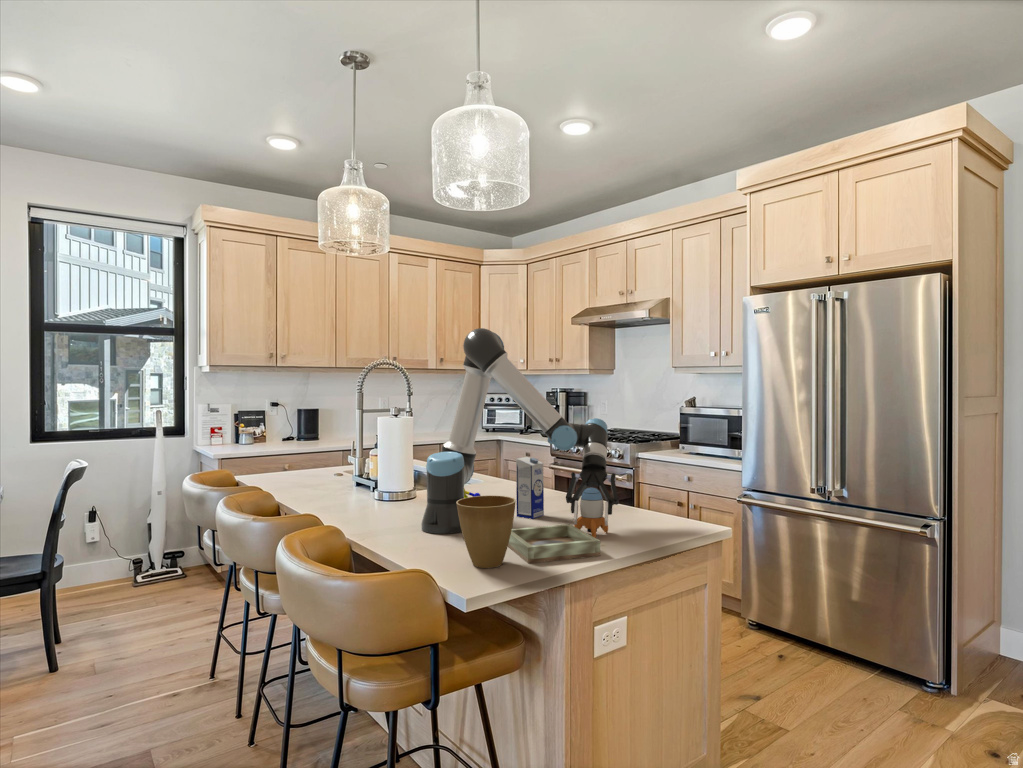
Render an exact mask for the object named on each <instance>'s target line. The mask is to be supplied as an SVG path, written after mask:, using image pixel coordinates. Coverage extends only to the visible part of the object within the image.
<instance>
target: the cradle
mask: <svg viewBox="0 0 1023 768" xmlns="http://www.w3.org/2000/svg"><path fill="white" fill-rule="evenodd" d="M507 548H509V549H510V550H512V552H514V553H515V554H516V555H517V556H518V557H520V558H521V559H522V560H523V561H524V562H526V563H527V564H536V563H545V562H546V561H547V562H555V560H556V561H565V559H566V560H572V558H576V559H582V558H581V557H585V558H591V557H590V556H595V557H600V556H601V540H600V539H598V538H597V537H596V538H594V537H593V536H592V535H591V534H589V533H588V532H587V533H586V532H585V531H583V530H581V529H578V528H576V527H574V525H572V524H570V523H569V524H567V523H566V524H558V525H557V524H555V525H545V526H544V525H543V526H533V527H532V526H531V527H521V528H512V530H511V535H510V540H509V543H508V547H507ZM599 555H600V556H599Z"/></svg>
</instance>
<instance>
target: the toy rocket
mask: <svg viewBox="0 0 1023 768" xmlns="http://www.w3.org/2000/svg"><path fill="white" fill-rule="evenodd" d="M602 495H603V494H602V492H601V490H600V489H599V488H597V487H593V486H591V487H587V489H585V490H584V491H583V494H582V495H581V497H580V503H579V505H580V506H579V507H580V509H579V510H580V516H579V517H577V525H576V524H574V523H573V524H574V525H573V526H574V527H576V528H578V529H580V530H581V529H582V528H583V527H584V528H585V529H586V532H587V533H591V534H590V535H591V536H593V537H594V538H596V539H597V532H598V529H599V528H601V529H602V531H603V532H604V533H605V532H606V533H605V534H607V533H608V532H609V525H608V526H605V516H604V512H605V508H604V507H605V506H604V498H603V496H602Z"/></svg>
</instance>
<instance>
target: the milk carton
mask: <svg viewBox="0 0 1023 768" xmlns="http://www.w3.org/2000/svg"><path fill="white" fill-rule="evenodd" d="M515 460H516V461H515V464H516V465H515V469H516V470H515V471H516V472H515V473H516V474H515V476H516V477H515V479H516V481H515V482H516V483H515V484H516V486H515V487H516V491H515V492H516V494H515V495H516V518H517V517H518V518H522V517H524V518H523V519H529V518H531V519H532V520H534V519H537V518H540V517H543V516H545V511H544V510H545V507H544V506H545V504H544V501H545V500H544V497H545V496H544V495H545V494H544V489H545V488H544V487H545V486H544V462H542V461H540V460H539V459H538V458H536V457H529V456H525V457H518V458H516V459H515ZM531 519H530V520H531Z"/></svg>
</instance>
